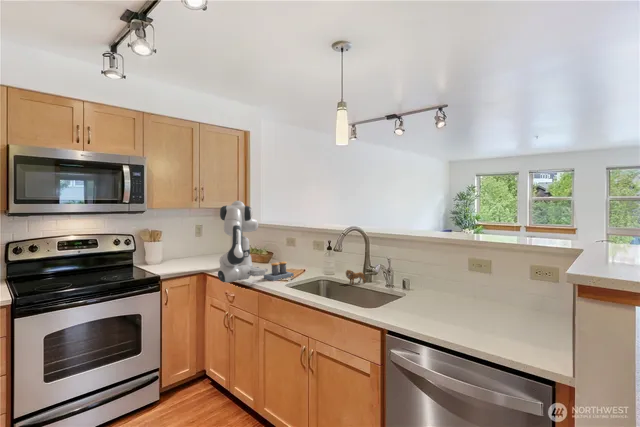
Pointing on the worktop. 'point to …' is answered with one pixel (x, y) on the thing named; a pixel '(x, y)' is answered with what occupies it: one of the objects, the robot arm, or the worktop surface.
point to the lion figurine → (355, 276)
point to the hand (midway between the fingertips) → (262, 269)
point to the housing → (278, 276)
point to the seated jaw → (282, 267)
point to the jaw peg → (275, 269)
